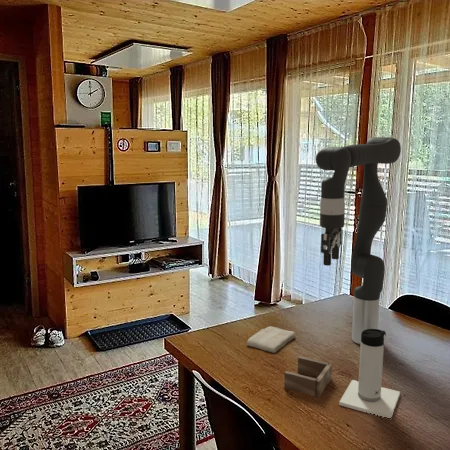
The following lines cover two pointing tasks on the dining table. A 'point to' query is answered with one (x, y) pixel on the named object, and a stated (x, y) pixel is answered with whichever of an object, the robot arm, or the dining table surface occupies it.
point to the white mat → (379, 407)
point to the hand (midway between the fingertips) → (331, 262)
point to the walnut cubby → (308, 383)
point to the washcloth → (270, 339)
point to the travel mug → (371, 364)
